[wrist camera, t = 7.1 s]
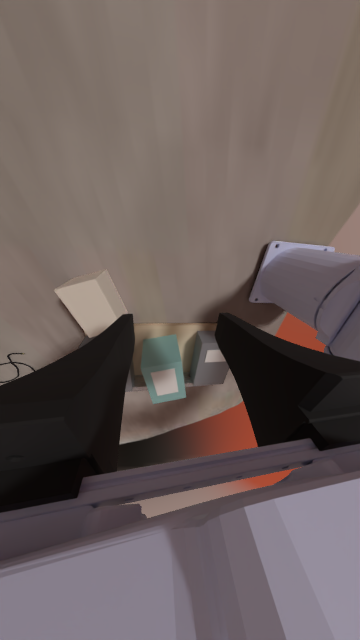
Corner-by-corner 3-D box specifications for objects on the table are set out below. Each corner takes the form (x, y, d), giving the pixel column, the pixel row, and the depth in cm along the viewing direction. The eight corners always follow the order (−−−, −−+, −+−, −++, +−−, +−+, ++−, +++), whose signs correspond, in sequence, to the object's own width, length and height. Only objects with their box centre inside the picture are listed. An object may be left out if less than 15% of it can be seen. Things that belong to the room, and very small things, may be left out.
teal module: (176, 334, 23) (181, 361, 18) (180, 368, 27) (186, 398, 22) (143, 339, 22) (140, 369, 18) (153, 373, 27) (153, 404, 22)
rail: (217, 370, 29) (221, 380, 27) (215, 373, 29) (220, 384, 27) (101, 377, 25) (96, 390, 23) (102, 381, 26) (97, 394, 24)
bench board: (232, 323, 24) (234, 325, 24) (216, 372, 30) (217, 374, 30) (84, 323, 20) (82, 326, 20) (100, 380, 26) (99, 383, 26)
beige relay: (106, 268, 17) (95, 278, 14) (127, 312, 20) (122, 328, 17) (73, 277, 17) (53, 289, 14) (99, 319, 20) (89, 337, 17)
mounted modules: (230, 330, 24) (239, 342, 21) (217, 370, 29) (223, 384, 26) (88, 332, 20) (78, 347, 18) (101, 377, 25) (94, 394, 23)
